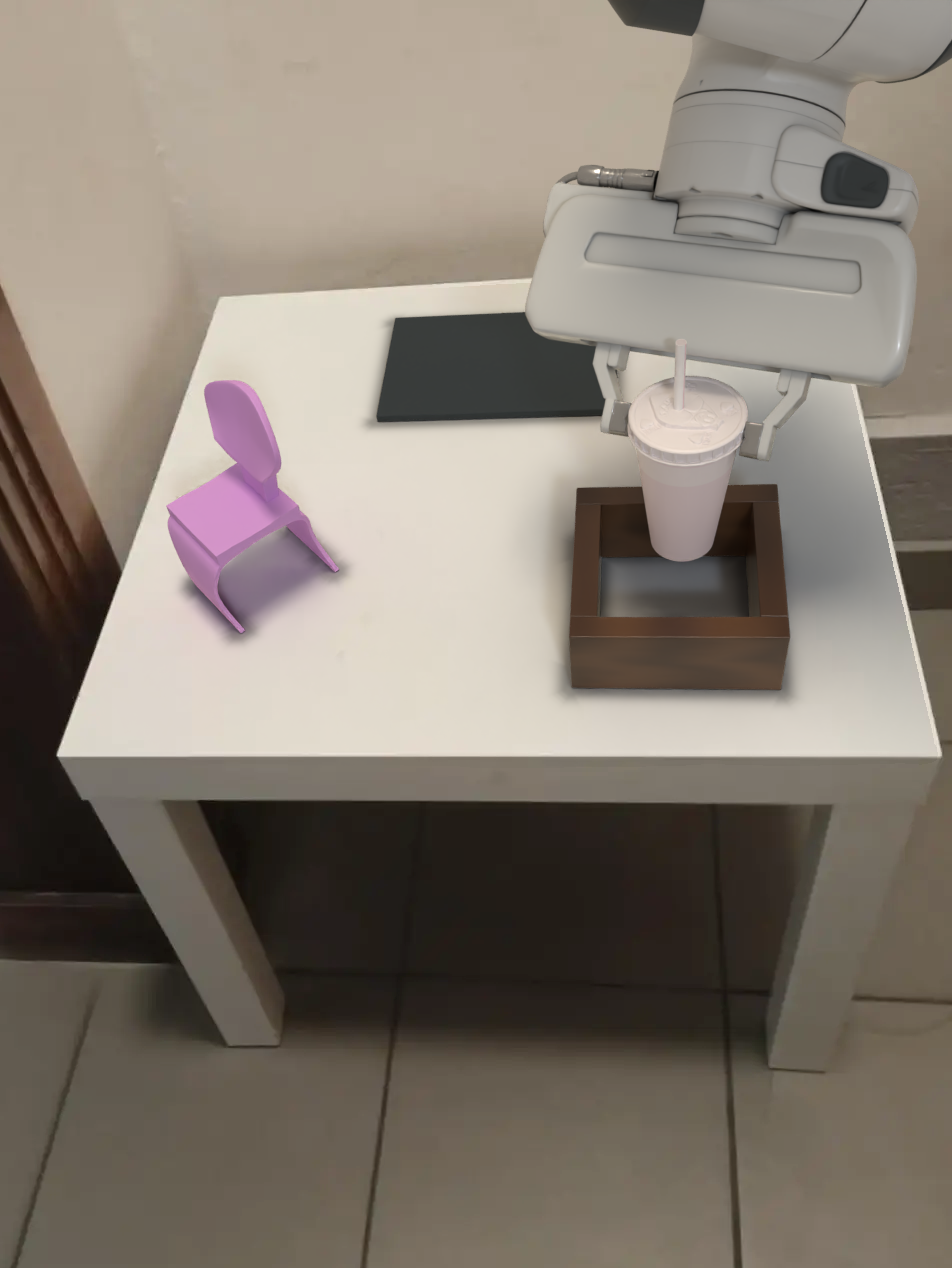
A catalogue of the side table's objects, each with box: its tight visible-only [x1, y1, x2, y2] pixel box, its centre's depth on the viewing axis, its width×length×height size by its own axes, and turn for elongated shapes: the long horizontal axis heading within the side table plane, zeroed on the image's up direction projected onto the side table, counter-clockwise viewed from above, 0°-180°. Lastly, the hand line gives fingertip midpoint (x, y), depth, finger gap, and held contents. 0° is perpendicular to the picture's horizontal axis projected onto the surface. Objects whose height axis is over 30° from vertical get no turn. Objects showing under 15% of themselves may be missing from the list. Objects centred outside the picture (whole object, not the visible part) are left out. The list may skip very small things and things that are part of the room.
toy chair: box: [165, 379, 340, 634], centre depth 79 cm, size 8×9×15 cm
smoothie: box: [627, 339, 749, 562], centre depth 68 cm, size 6×6×14 cm
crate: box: [568, 483, 791, 691], centre depth 77 cm, size 13×13×5 cm
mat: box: [375, 311, 618, 423], centre depth 95 cm, size 18×12×1 cm, turn 84°
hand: (683, 446), depth 67 cm, fingers closed on smoothie, 6 cm apart
